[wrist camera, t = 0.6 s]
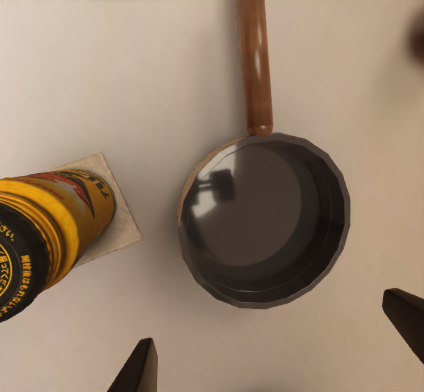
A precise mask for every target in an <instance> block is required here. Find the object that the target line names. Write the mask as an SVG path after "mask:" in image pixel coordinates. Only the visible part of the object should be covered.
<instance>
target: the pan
mask: <svg viewBox="0 0 424 392" xmlns="http://www.w3.org/2000/svg"><path fill="white" fill-rule="evenodd" d="M177 223H178V230H179V237H180V243H181V249H182V255H183V259H184V261H185V263H186V264H187V266H188V268H189V270H190V272H191V273H192V275H193V277H194V279H195V281H196V282H197V283H198V284H199V285H200V286H202V287H203V288H204V289H205V290H206V291H207V292H209V293H210V294H211V295H212V296H213V297H214V298H216V299H217V300H220V301H223V302H225V303H228V304H231V305H233V306H236V307H238V308H251V309H268V308H271V307H275V306H279V305H283V304H287V303H290V302H292V301H293V300H295V299H297V298H299V297H300V296H302V295H304V294H306V293H307V292H309V291H311V290H312V289H313V288H314V287H315V286H316V285H317V284H318V283H319V282H320V281H321V280H322V279H323V278H324V277H325V276H326V275H327V274H328V273H329V272H330V271H331V269H332V268H333V266H334V264H335V263H336V261H337V259H338V258H339V256H340V254H341V252H342V251H343V249H344V246H345V242H346V238H347V235H348V231H349V228H350V196H349V193H348V190H347V187H346V184H345V180H344V177H343V175H342V173H341V171H340V170H339V169H338V167H337V166H336V165H335V163H334V162H333V160H332V159H331V158H330V156H329V155H328V154H327V153H326V152H324V151H323V150H321V149H320V148H318V147H317V146H315V145H314V144H312V143H311V142H309V141H308V140H306V139H304V138H300V137H295V136H291V135H286V134H282V133H271V134H269V135H268V136H266V137H260V136H258V135H255V136H248V137H243V138H239V139H235V140H233V141H231V142H229V143H226V144H224V145H222V146H220V147H218V148H217V149H215V150H213V151H212V152H210V153H209V154H208V155H207V156H206V157H205V158H204V159H203V160H201V161H200V163H199V164H198V165H197V166H196V167H195V168H194V170H193V171H192V173H191V174H190V176H189V177H188V179H187V181H186V183H185V185H184V188H183V190H182V192H181V196H180V201H179V206H178V214H177Z"/></svg>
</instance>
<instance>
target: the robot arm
mask: <svg viewBox="0 0 424 392" xmlns="http://www.w3.org/2000/svg"><path fill="white" fill-rule="evenodd" d="M382 308H383V311H384V313H385V314H386V315H387V317H388V318H389V320H390V321H391V322H392V324H393V325H394V326H395V328H396V329H397V330H398V332H399V333H400V335H401V336H402V337H403V339H404V340H405V341H406V343H407V344H408V345H409V347H410V348H411V349H412V351H413V352H414V353H415V355H416V356H417V357H418V358H419V359H420V361H421V362H422V363H423V364H424V299H422V298H420V297H418V296H415V295H413V294H410V293H408V292H405V291H403V290H400V289H398V288H391V289H387V290H385V291H384V295H383V303H382ZM157 367H158V356H157V351H156V348H155V345H154V341H153V339H152V338H145V339H141V340H140V341H139V342H138V344H137V346H136V347H135V349H134V350H133V352H132V353H131V355H130V357H129V358H128V360H127V361H126V363H125V364H124V366H123V367H122V369H121V371H120V372H119V374H118V375H117V377H116V378H115V380H114V382H113V383H112V385H111V386H110V388H109V389H108V391H107V392H157Z"/></svg>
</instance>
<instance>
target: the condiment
mask: <svg viewBox="0 0 424 392" xmlns="http://www.w3.org/2000/svg"><path fill="white" fill-rule="evenodd" d="M139 240H142V237H141V235H140V233H139V231H138V229H137V226H136V224H135V222H134V220H133V218H132V216H131V214H130V212H129V210H128V208H127V205H126V203H125V201H124V199H123V197H122V194H121V192H120V190H119V188H118V186H117V184H116V182H115V180H114V178H113V176H112V173H111V171H110V169H109V167H108V165H107V163H106V161H105V159H104V157H103V155H102V153H101V152H99V153H97V154H94V155H91V156H88V157H86V158H83V159H80V160H78V161H75V162H72V163H69V164H67V165H64V166H61V167H58V168H56V169H53V170H50V171H47V172H45V173H37V174H31V175H28V176H21V177H13V178H7V177H6V178H4V179H0V323H1V322H3V321H6V320H8V319H10V318H11V317H13V316H15V315H17V314H18V313H20V312H22V311H23V310H24V309H25V308H26V307H27V306H29V305H30V304H31V303H32V302H33V301H34V299H35V298H36V297H37V295H38V294H40V293H41V292H42V291H44V290H46V289H48V288H50V287H52V286H53V285H55V284H56V283H58V282H59V281H60V280H61V279H63V278H64V277H65V276H66V275H67V274H68V273H69V271H71V270H72V269H73V268H75V267H77V266H79V265H82V264H84V263H86V262H89V261H91V260H93V259H95V258H98V257H100V256H103V255H105V254H108V253H110V252H111V251H115V250H117V249H120V248H122V247H125V246H127V245H129V244H132V243H134V242H137V241H139Z"/></svg>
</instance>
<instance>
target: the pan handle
mask: <svg viewBox="0 0 424 392" xmlns="http://www.w3.org/2000/svg"><path fill="white" fill-rule="evenodd" d="M236 10H237V21H238V32H239V42H240V53H241V64H242V75H243V86H244V97H245V108H246V119H247V129H248V133H249V135H250V136H255V135H258V136H260V137H266V136H268V135H269V134H271V133H272V131H273V115H272V100H271V86H270V72H269V57H268V43H267V28H266V14H265V0H236Z"/></svg>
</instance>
